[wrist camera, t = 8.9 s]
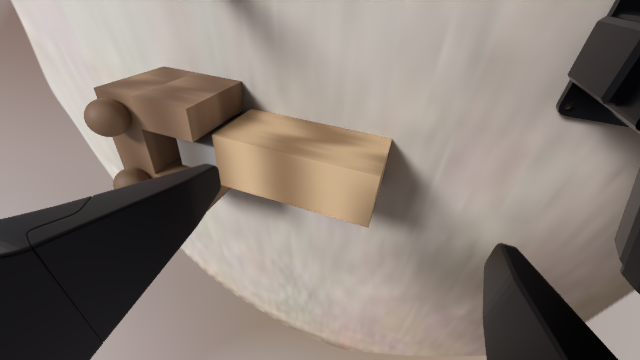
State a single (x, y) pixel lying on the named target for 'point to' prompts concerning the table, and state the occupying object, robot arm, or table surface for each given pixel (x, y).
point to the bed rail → (295, 163)
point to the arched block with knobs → (160, 118)
